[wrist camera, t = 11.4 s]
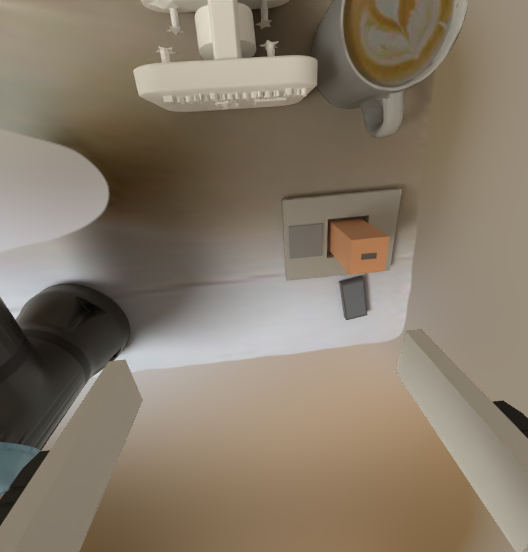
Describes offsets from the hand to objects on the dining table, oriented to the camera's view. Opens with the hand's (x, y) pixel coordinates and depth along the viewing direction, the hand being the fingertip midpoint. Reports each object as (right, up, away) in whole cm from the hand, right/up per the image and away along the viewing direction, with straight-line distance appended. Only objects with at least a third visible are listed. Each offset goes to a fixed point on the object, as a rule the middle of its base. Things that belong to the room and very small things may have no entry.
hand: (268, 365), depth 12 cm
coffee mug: (+10, +27, +17) cm, 34 cm away
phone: (+15, +1, +30) cm, 34 cm away
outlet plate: (+11, +10, +25) cm, 29 cm away
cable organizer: (-4, +28, +16) cm, 33 cm away
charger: (+12, +10, +25) cm, 30 cm away
